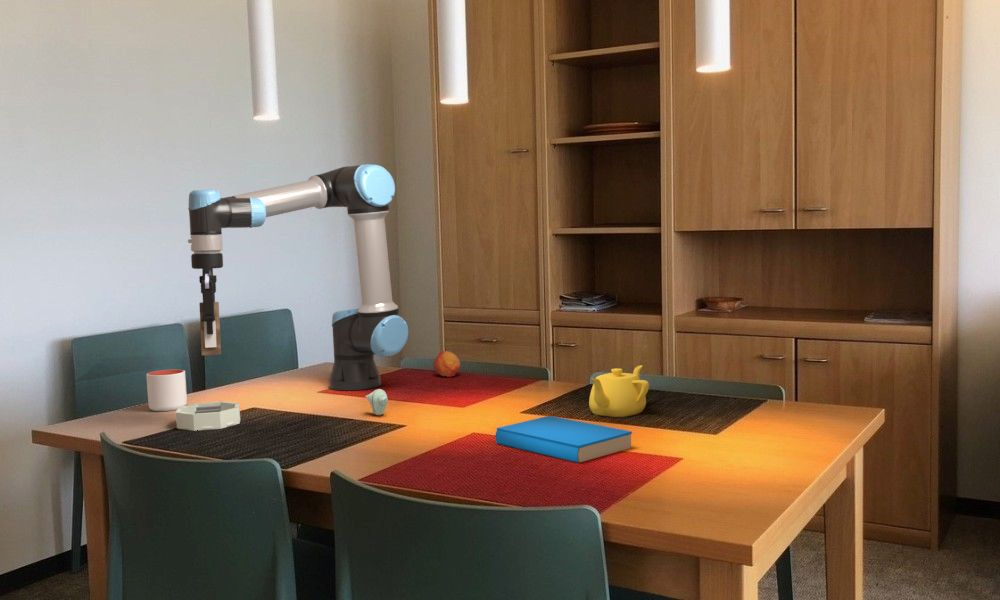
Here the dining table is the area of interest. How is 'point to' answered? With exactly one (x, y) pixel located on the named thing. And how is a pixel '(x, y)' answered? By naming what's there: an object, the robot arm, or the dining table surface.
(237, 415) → the octagonal tray
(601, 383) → the teapot
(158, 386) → the cup
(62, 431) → the dining table surface
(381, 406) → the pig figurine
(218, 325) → the brown tall block
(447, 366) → the fruit
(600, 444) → the book
